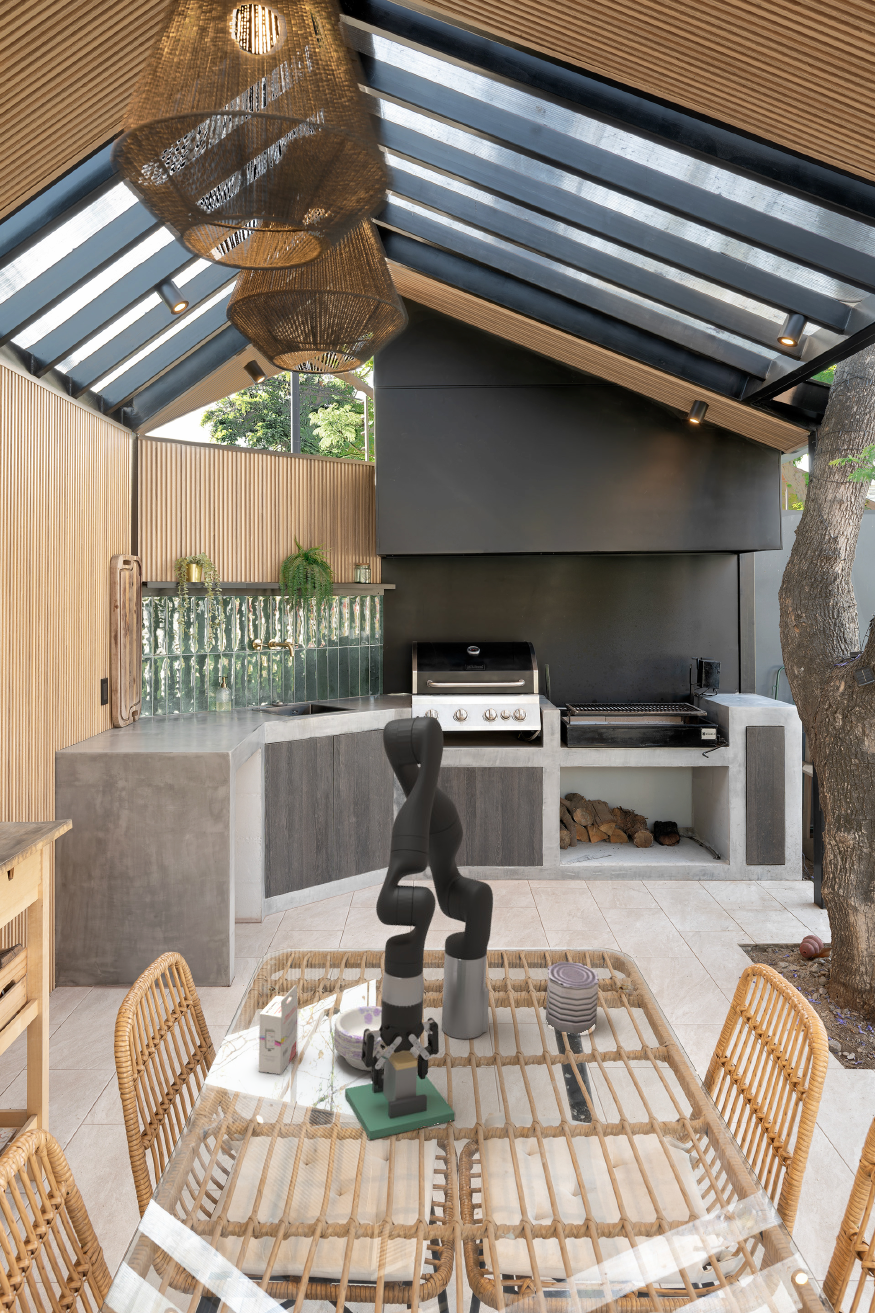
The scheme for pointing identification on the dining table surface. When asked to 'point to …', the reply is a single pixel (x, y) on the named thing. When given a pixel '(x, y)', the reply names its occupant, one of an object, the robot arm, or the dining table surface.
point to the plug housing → (400, 1076)
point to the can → (571, 997)
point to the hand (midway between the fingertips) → (399, 1081)
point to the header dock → (397, 1109)
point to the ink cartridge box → (278, 1033)
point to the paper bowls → (356, 1033)
